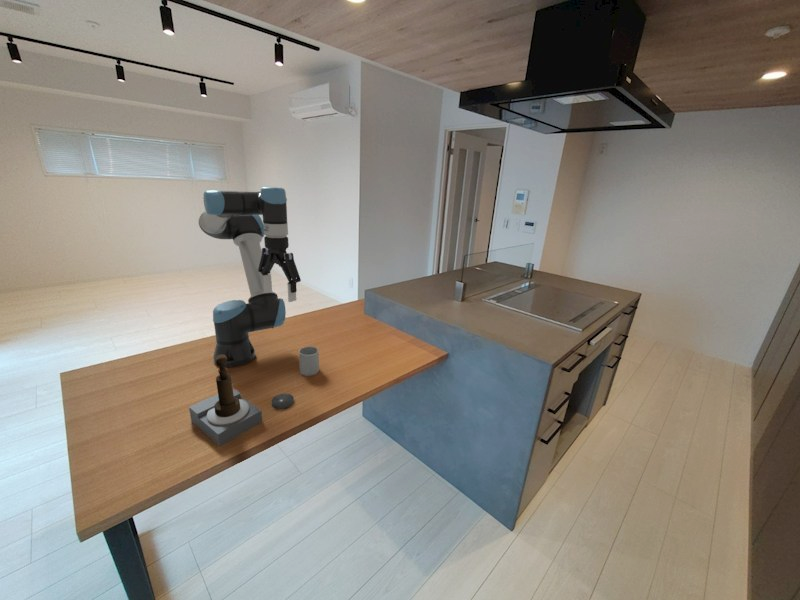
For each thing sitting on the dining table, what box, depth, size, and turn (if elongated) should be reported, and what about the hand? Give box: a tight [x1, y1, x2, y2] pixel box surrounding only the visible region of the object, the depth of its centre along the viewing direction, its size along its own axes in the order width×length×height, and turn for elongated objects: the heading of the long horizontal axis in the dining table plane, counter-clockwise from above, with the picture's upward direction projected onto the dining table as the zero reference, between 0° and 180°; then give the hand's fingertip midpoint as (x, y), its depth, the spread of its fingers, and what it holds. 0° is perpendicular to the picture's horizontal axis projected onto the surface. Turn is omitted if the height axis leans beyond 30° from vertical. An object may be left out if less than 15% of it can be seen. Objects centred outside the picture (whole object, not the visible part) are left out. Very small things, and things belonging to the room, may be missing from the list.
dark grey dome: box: [270, 392, 295, 411], centre depth 110 cm, size 7×7×1 cm
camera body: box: [188, 388, 263, 447], centre depth 100 cm, size 16×13×5 cm
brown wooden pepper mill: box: [214, 354, 240, 417], centre depth 95 cm, size 7×6×18 cm
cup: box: [298, 345, 320, 377], centre depth 129 cm, size 7×10×9 cm
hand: (280, 296), depth 118 cm, fingers open, 13 cm apart
